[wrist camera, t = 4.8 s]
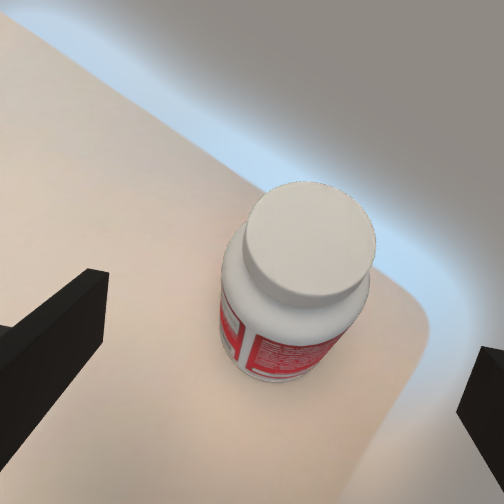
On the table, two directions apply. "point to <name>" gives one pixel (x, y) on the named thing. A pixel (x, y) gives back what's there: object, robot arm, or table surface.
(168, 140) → the table surface
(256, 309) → the pill bottle
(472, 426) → the robot arm
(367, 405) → the table surface
